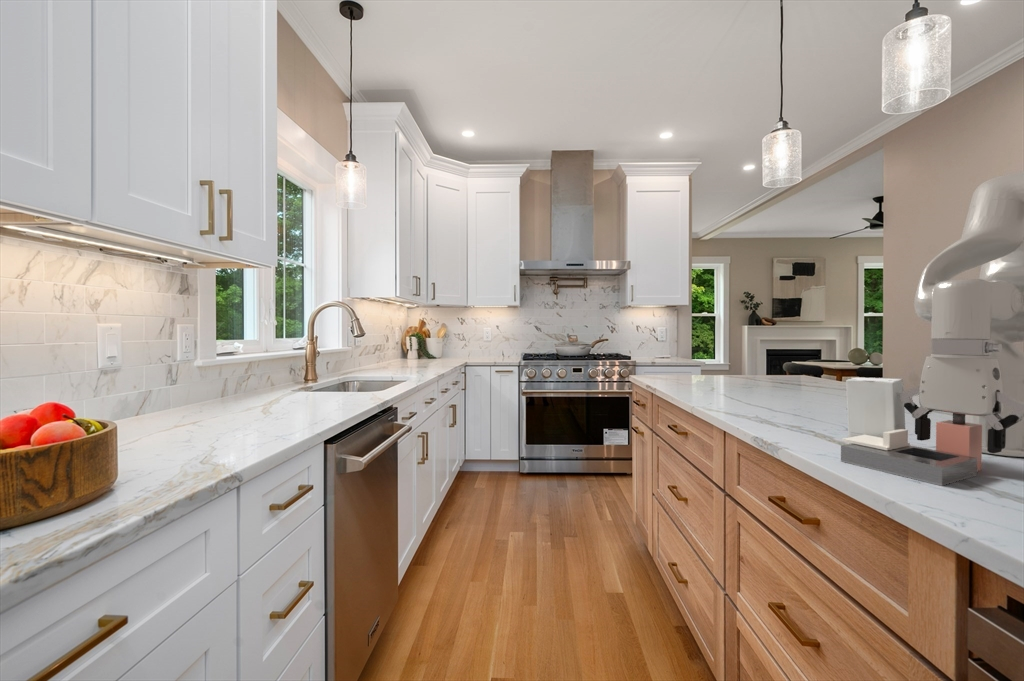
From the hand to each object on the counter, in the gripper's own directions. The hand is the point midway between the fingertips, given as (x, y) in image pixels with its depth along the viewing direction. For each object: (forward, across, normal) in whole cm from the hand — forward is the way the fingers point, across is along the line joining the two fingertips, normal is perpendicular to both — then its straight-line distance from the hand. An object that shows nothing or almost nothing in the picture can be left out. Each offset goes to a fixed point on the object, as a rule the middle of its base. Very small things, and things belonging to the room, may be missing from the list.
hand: (957, 445), depth 81 cm
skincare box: (+4, +13, -1) cm, 14 cm away
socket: (+4, +4, +8) cm, 10 cm away
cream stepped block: (+1, +9, +6) cm, 12 cm away
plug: (+4, 0, -1) cm, 4 cm away
